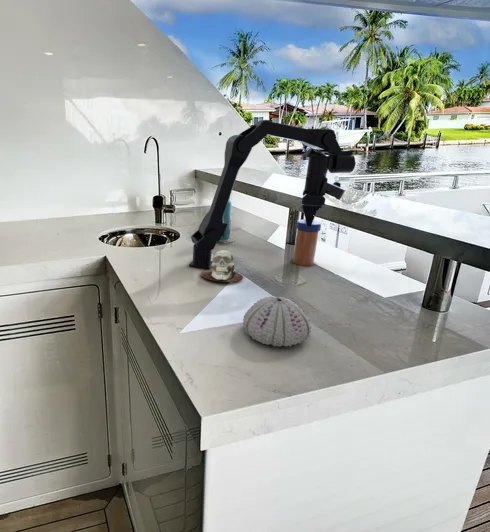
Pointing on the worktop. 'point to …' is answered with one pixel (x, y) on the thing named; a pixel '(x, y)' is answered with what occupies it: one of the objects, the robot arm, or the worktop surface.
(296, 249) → the jar
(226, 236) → the beverage bottle
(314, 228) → the jar lid
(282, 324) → the sea urchin shell
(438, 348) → the worktop surface
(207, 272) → the skull
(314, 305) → the worktop surface
